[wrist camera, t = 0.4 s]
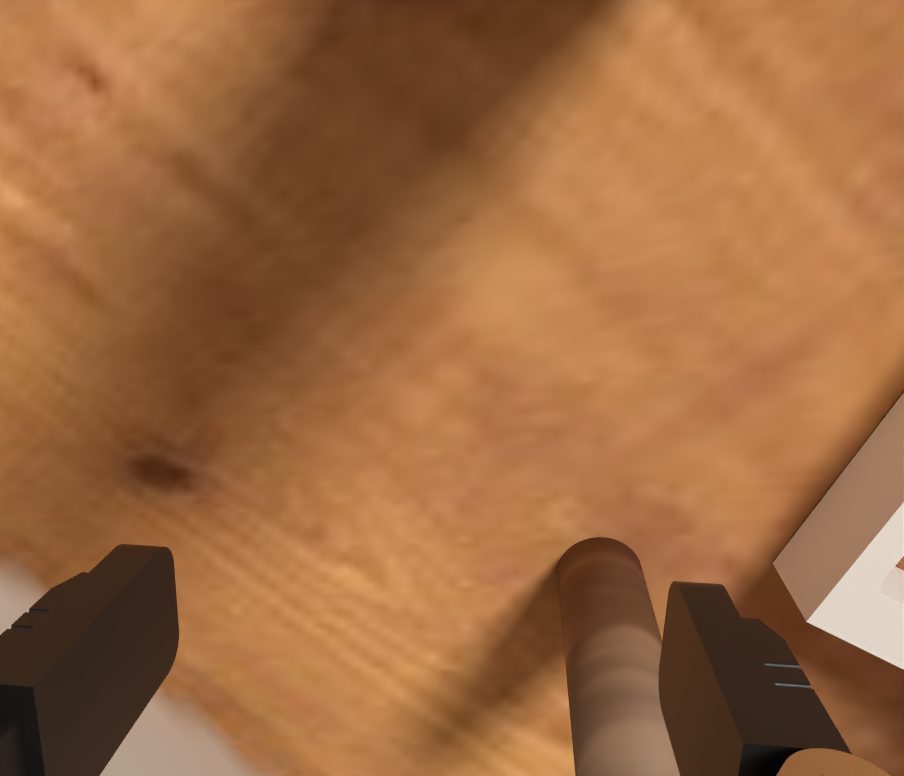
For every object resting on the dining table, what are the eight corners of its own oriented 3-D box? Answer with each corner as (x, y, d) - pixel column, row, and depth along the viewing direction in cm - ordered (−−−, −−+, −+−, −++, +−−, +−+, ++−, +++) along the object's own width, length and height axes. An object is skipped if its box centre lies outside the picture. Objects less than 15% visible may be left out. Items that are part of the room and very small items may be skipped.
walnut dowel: (583, 524, 32) (619, 739, 21) (657, 560, 33) (732, 792, 21) (542, 587, 33) (555, 824, 22) (614, 621, 34) (663, 873, 22)
